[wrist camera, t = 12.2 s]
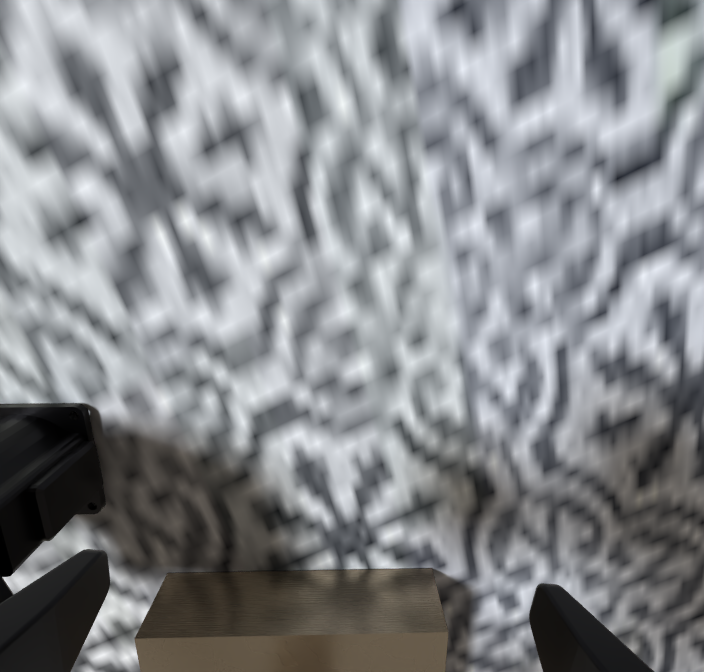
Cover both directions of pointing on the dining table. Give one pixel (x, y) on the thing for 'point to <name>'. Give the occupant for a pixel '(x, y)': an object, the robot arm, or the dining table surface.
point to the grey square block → (295, 622)
